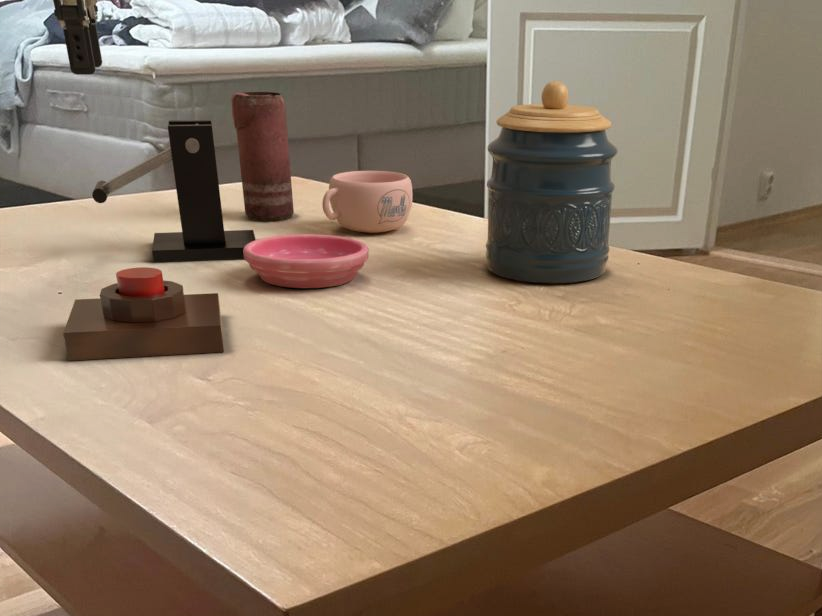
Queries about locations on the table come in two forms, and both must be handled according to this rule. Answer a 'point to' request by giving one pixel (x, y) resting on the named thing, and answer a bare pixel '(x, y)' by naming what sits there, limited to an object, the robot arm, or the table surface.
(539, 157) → the canister
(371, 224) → the mug
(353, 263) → the pink bowl
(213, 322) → the control block
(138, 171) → the lever
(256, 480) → the table surface
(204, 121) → the bracket
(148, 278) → the button
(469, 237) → the table surface
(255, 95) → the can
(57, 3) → the robot arm
